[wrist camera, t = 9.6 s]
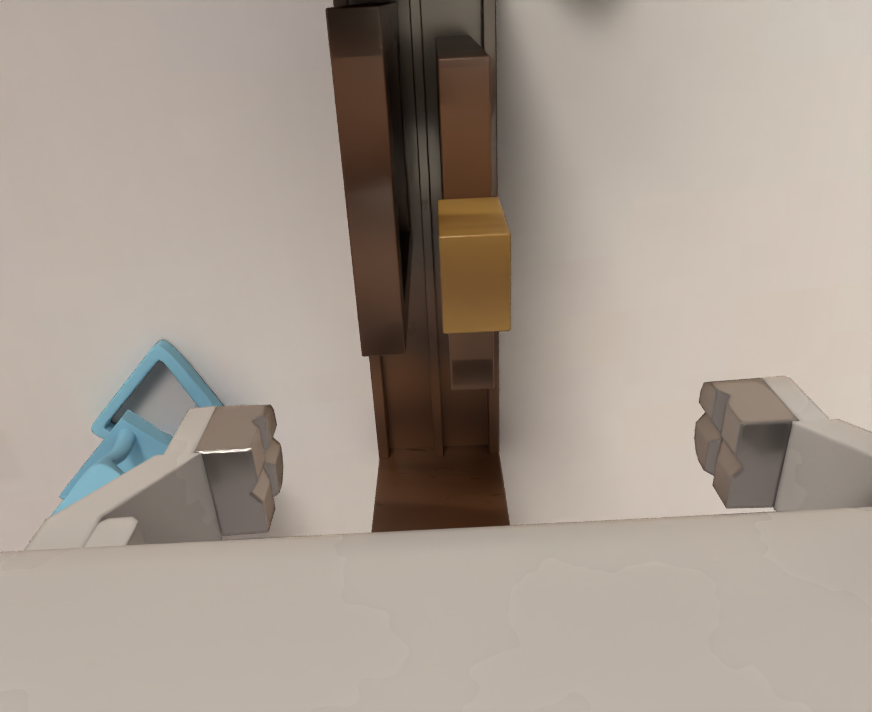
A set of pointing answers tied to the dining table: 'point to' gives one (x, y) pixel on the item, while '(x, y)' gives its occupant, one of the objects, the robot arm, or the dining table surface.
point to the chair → (133, 427)
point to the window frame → (411, 261)
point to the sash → (470, 216)
